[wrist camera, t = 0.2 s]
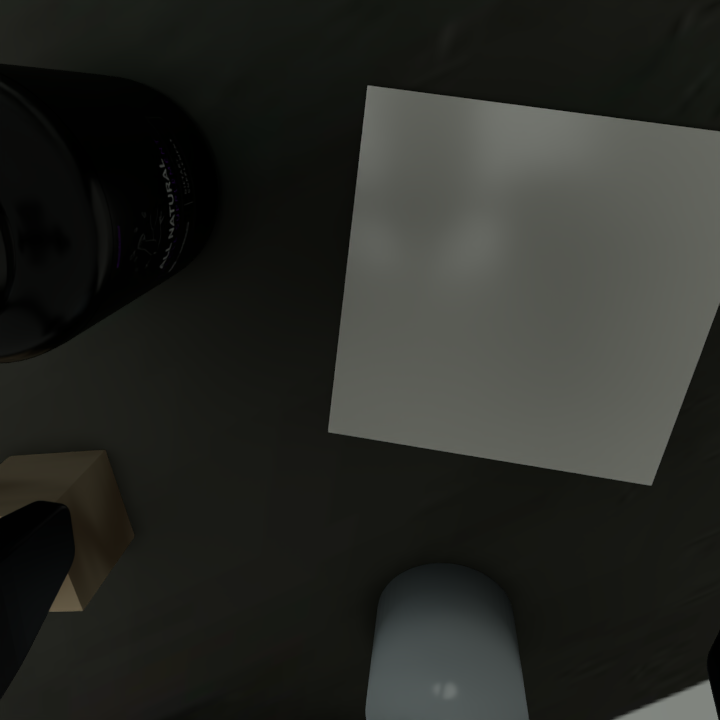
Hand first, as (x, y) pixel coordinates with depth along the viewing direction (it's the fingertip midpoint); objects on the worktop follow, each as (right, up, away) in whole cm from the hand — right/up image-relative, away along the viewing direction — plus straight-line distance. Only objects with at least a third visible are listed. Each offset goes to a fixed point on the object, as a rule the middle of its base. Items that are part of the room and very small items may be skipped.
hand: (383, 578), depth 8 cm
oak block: (-13, -3, +19) cm, 23 cm away
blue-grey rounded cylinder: (+3, -8, +19) cm, 21 cm away
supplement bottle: (-8, +9, +13) cm, 18 cm away
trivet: (+5, +5, +13) cm, 15 cm away
